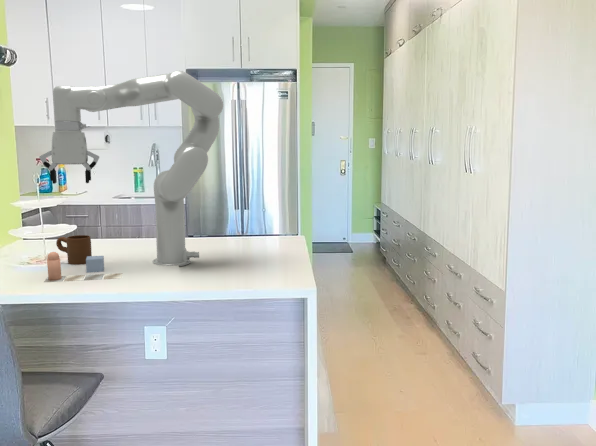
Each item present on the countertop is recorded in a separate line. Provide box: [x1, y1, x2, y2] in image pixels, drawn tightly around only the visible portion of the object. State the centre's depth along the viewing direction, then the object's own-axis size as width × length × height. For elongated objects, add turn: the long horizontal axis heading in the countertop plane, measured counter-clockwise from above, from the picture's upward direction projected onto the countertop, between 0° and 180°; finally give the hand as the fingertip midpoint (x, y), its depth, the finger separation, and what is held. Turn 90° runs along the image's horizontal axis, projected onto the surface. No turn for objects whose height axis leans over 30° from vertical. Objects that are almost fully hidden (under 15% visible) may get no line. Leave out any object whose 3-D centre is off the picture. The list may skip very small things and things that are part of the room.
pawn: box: [46, 251, 62, 281], centre depth 167 cm, size 4×4×8 cm
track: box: [43, 272, 123, 283], centre depth 170 cm, size 22×7×1 cm, turn 104°
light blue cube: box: [85, 255, 105, 274], centre depth 178 cm, size 5×5×5 cm
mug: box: [55, 234, 93, 266], centre depth 189 cm, size 12×8×9 cm, turn 80°
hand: (71, 183), depth 176 cm, fingers open, 9 cm apart
